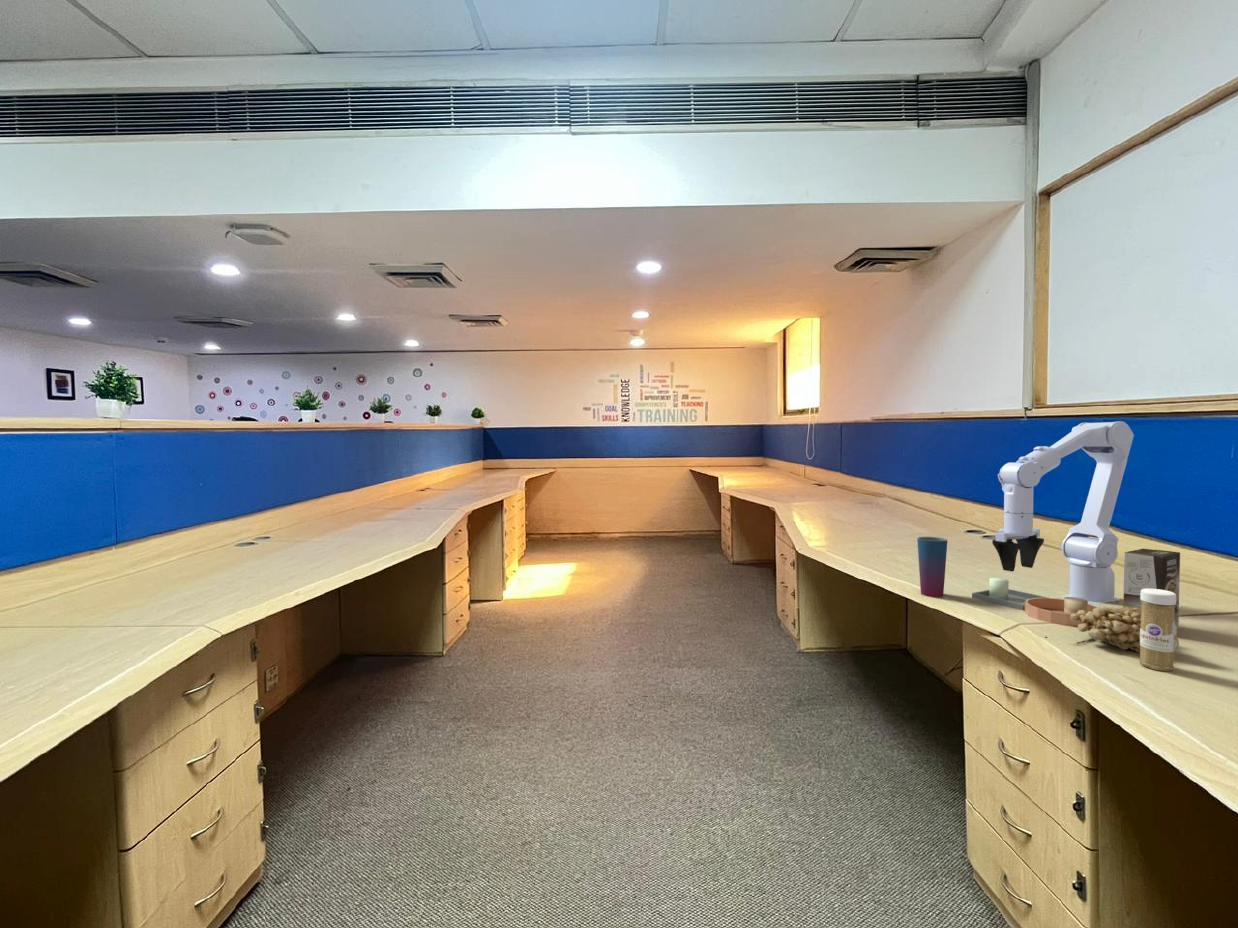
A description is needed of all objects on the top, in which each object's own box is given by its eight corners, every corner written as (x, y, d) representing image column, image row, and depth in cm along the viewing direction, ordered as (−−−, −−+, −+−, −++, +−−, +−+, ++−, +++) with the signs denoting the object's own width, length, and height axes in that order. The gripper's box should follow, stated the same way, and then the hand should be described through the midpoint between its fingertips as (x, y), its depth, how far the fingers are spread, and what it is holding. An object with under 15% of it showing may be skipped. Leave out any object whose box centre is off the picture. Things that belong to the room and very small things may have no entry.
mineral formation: (1187, 662, 102) (1084, 647, 107) (1148, 649, 114) (1057, 636, 120) (1187, 616, 103) (1085, 604, 108) (1148, 608, 115) (1058, 597, 120)
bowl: (1046, 607, 136) (1046, 595, 136) (1113, 623, 124) (1114, 609, 124) (1012, 615, 130) (1012, 602, 130) (1079, 632, 118) (1079, 618, 118)
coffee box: (1161, 635, 116) (1162, 556, 115) (1121, 626, 121) (1122, 551, 121) (1180, 628, 120) (1182, 551, 119) (1141, 619, 126) (1142, 547, 125)
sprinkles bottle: (1139, 667, 100) (1141, 591, 99) (1138, 659, 103) (1139, 586, 103) (1176, 674, 97) (1177, 595, 97) (1173, 665, 100) (1175, 590, 100)
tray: (1000, 594, 148) (1000, 587, 148) (1052, 605, 137) (1052, 598, 137) (971, 600, 143) (971, 592, 143) (1022, 612, 132) (1023, 604, 132)
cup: (951, 600, 143) (951, 541, 142) (921, 599, 144) (921, 540, 143) (941, 593, 149) (942, 536, 149) (913, 592, 151) (913, 536, 150)
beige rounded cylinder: (1070, 616, 127) (1071, 596, 127) (1091, 621, 123) (1091, 600, 123) (1059, 618, 126) (1060, 598, 125) (1080, 623, 122) (1081, 602, 122)
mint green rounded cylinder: (995, 594, 145) (995, 577, 145) (1012, 598, 142) (1012, 580, 142) (985, 596, 144) (985, 578, 144) (1002, 600, 140) (1002, 582, 140)
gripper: (1018, 508, 144) (1017, 562, 144) (982, 512, 137) (982, 568, 138) (1049, 511, 137) (1049, 567, 138) (1013, 516, 131) (1013, 574, 132)
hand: (1017, 568), depth 137 cm, fingers open, 7 cm apart
